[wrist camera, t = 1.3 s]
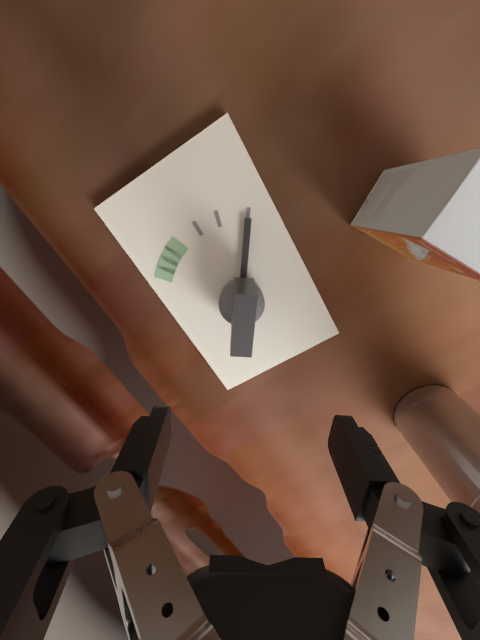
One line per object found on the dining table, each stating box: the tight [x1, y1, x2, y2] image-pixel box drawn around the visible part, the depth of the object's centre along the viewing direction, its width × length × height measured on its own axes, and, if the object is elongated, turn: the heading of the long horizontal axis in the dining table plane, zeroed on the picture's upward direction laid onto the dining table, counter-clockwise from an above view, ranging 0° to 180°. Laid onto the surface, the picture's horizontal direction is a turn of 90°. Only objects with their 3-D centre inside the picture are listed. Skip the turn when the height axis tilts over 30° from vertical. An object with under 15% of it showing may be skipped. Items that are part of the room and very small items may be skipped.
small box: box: [350, 148, 480, 280], centre depth 25 cm, size 8×6×13 cm
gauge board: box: [94, 113, 339, 390], centre depth 32 cm, size 26×16×2 cm, turn 31°
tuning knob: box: [219, 218, 265, 358], centre depth 27 cm, size 12×5×8 cm, turn 176°
